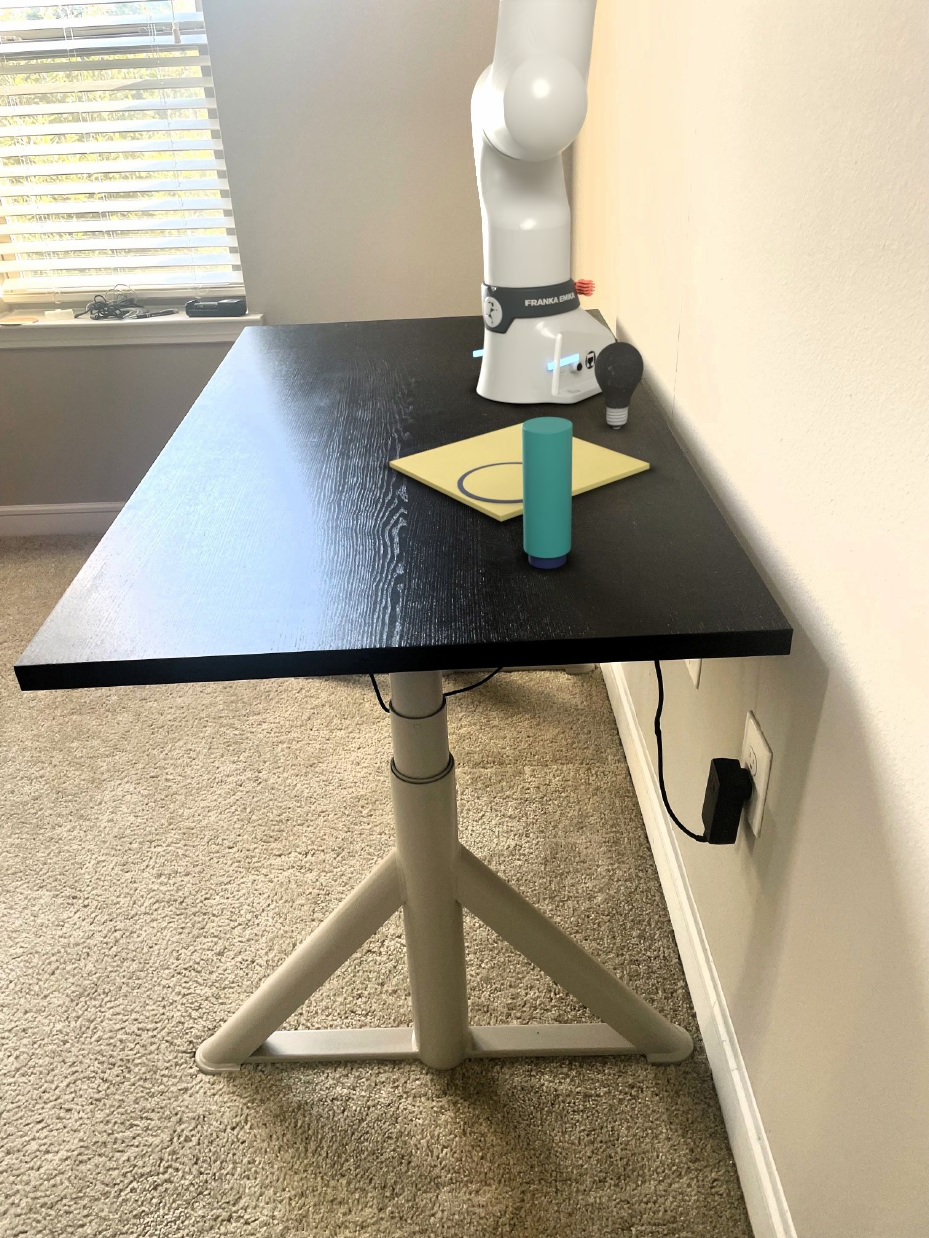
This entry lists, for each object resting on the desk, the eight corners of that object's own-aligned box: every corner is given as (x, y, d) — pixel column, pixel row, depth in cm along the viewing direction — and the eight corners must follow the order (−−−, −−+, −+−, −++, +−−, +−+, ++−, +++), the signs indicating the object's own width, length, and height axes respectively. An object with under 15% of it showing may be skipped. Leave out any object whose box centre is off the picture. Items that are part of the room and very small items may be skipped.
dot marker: (549, 546, 76) (549, 413, 70) (580, 561, 74) (583, 424, 67) (514, 559, 74) (511, 424, 68) (544, 575, 72) (544, 436, 65)
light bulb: (590, 421, 106) (592, 337, 100) (636, 419, 105) (641, 335, 100) (595, 436, 101) (597, 349, 96) (643, 434, 100) (648, 347, 95)
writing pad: (528, 425, 105) (528, 420, 105) (649, 468, 91) (649, 462, 91) (389, 466, 96) (389, 460, 95) (500, 521, 81) (500, 514, 81)
